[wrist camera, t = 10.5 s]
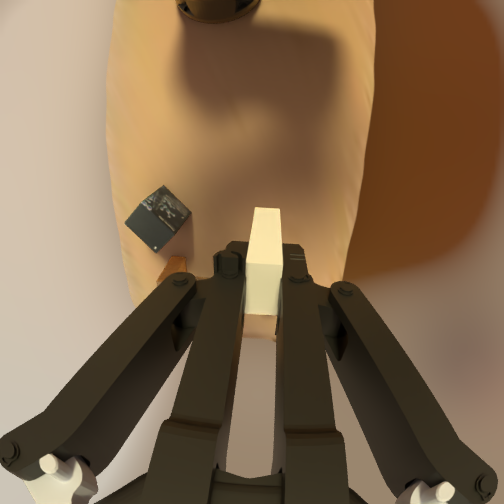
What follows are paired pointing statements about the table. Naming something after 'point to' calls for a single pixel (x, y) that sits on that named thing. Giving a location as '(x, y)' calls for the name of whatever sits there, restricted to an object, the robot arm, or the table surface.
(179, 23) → the table surface
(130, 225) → the box
